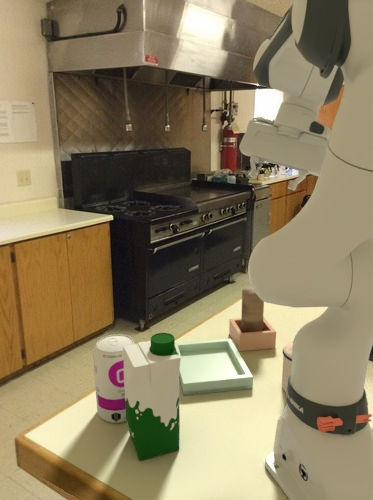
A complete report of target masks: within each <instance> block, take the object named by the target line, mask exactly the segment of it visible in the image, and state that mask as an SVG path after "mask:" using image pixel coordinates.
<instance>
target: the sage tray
mask: <svg viewBox="0 0 373 500" xmlns="http://www.w3.org/2000/svg"><path fill="white" fill-rule="evenodd" d="M175 348H176V351H177V353H178V354H179V357H180V358H181V360H180V369H179V385H180V387H181V390H182V394H183V396H192V395H203V394H211V393H213V394H214V393H222V392H229V391H240V390H249V389H250V390H251V389H253V388H254V387H253V385H254V383H253V382H254V376H253V374H252V372H251V371H250V368H248V366H247V364H246V362H245V360H244V359H243V356H242V355H241V354H240V351H239V350H238V349H237V347H236V345H235V343H234V342H233V340H232V338H220V339H209V340H198V341H185V342H175Z"/></svg>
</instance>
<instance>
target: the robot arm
mask: <svg viewBox="0 0 373 500" xmlns="http://www.w3.org/2000/svg"><path fill="white" fill-rule="evenodd" d="M252 66H253V67H252V74H253V76H254V78H255V81H256V82H257V84H258V86H261V87H263V88H264V87H265V88H268V89H271V90H273V89H274V90H276V91H280V92H283V93H285V94H286V95H285V97H284V100H283V101H282V102H281V104H280V105H279V108H278V111H277V114H276V115H275V118H274V119H271V118H266V117H265V118H264V117H263V116H256V117H253V118H251V119H250V120H249V121H248V124H247V127H246V131H245V133H244V135H243V137H242V139H241V140H240V143H239V151H240V153H241V154H242V155H244V156H246V157H250V159H249V162H250V163H249V164H250V172H249V174H248V176H249V178H253V179H257V178H258V175H259V174H260V172H259V170H258V169H257V168H256V167H257V166H256V164H259V161H264V162H268V163H270V164H274V165H277V166H278V165H279V166H280V167H284V168H289V169H291V170H294V171H295V170H296V171H298V173H297V174H298V175H299V176H297V178H295V180H289V183H288V186H287V189H288V190H290V191H291V190H292V191H296V190H297V187H298V184H300V183H301V182H303V180H304V179H306V178H307V175H308V174H309V175H312V176H316V177H317V180H316V183H315V186H314V189H313V191H312V193H311V195H310V197H309V198H308V200H307V202H306V203H305V204H304V206H303V207H302V208H301V209H300V211H299V212H298V213H297V214H296V215H295V216H293V218H292V219H291V220H290V221H289V222H287V223H286V224H285V225H284V226H282V227H281V228H279V229H278V230H277V231H275V232H274V233H271V234H269V235H267V236H265V237H263V238H261V239H260V241H258V243H257V244H256V245H255V247H254V248H253V250H252V251H251V253H250V257H249V259H248V267H247V268H248V270H247V272H248V278H249V283H250V285H251V288H253V289H254V291H255V293H256V294H257V295H258V296H259V298H260V299H261V300H263V301H264V303H267V304H273V305H277V306H283V307H290V308H297V309H298V308H300V309H301V308H326V309H325V310H324V311H323V313H321V314H320V315H319V316H317V317H316V318H314V319H312V320H311V321H309V322H306V323H305V324H304V325H303V326H302V327H301V328H299V329H298V331H297V333H296V334H295V336H294V339H293V340H292V342H293V350H292V364H291V375H290V376H289V378H288V384H287V388H286V392H285V393H286V397H285V399H286V405H285V408H284V409H283V411H282V413H281V414H280V416H279V417H278V419H277V423H276V429H275V435H274V442H273V443H274V444H273V448H272V449H273V451H271V452H270V453H269V454H268V455H267V456H266V458H265V461H264V462H265V463H264V466H265V468H266V470H267V471H268V472H269V474H270V475H271V476H272V478H273V479H274V480H275V482H276V484H277V485H278V486H279V487H280V488H281V490H282V491H283V493H284V494H285V496H286V497H287V498H288V500H373V427H372V426H371V424H370V423H369V422H372V421H373V420H372V419H370V418H372V417H373V414H369V408H368V407H369V402H368V398H367V392H366V389H365V383H366V377H367V370H368V366H369V365H368V364H369V360H370V354H371V351H372V348H373V0H293V3H292V4H291V5H290V6H289V7H288V9H287V10H286V12H285V13H284V15H283V16H282V17H281V19H280V20H279V22H278V23H277V25H276V26H275V27H274V28H273V30H272V32H271V33H270V35H269V36H267V37H266V38H265V40H264V41H263V42H262V44H260V46H259V48H258V49H257V51H256V53H255V57H254V61H253V65H252ZM342 87H343V90H342ZM341 90H342V91H343V92H342V96H341V100H340V104H339V105H338V106H339V107H338V108H337V111H336V114H335V118H334V120H333V123H332V127H331V129H330V128H329V127H328V126H327V125H325V124H324V123H322V122H320V121H319V120H318V119H319V115H320V110H321V107H324V106H327V105H329V104H331V103H333V102H335V101H337V100H338V98H339V95H340V94H341V93H340V92H341Z"/></svg>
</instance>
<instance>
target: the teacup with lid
mask: <svg viewBox="0 0 373 500" xmlns="http://www.w3.org/2000/svg"><path fill="white" fill-rule="evenodd" d="M292 350H293V341H290V342H287V343H286V344H285V345H284V346H283V348H282V355H283V356H282V357H283V358H282V359H283V360H282V373H281V374H282V377H281V388H282V390H283V391H284V392H285V393H286V388H287V384H288V378H289V376H290V375H291V364H292Z"/></svg>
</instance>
